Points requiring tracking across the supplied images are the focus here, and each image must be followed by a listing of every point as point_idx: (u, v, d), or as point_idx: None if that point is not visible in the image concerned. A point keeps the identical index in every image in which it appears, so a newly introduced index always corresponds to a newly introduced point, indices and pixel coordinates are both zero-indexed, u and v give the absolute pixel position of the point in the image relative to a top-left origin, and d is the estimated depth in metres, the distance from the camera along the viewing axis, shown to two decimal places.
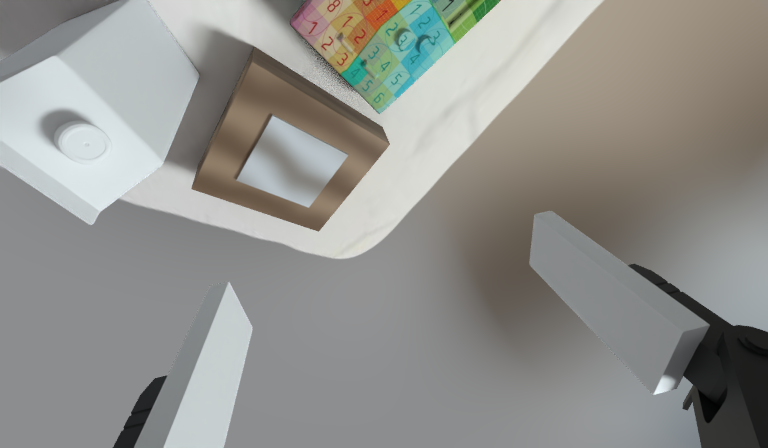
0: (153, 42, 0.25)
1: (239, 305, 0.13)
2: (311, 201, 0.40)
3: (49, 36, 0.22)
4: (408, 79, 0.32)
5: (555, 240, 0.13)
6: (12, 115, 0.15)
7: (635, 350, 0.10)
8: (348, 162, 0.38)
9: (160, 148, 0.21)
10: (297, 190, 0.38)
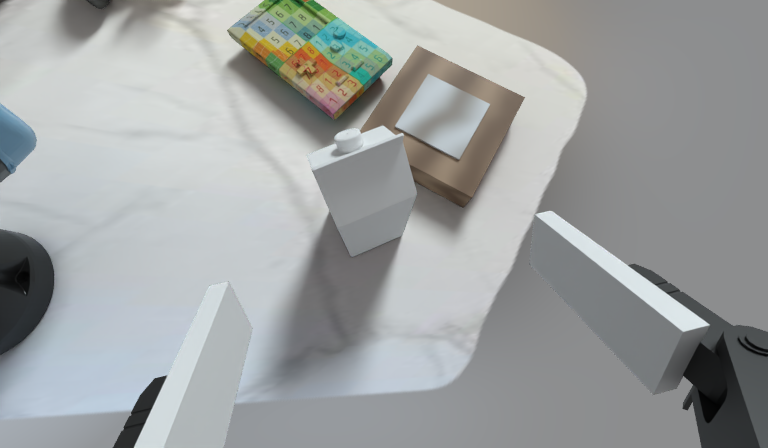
0: None
1: (240, 305, 0.13)
2: (482, 101, 0.41)
3: None
4: (363, 40, 0.44)
5: (555, 240, 0.13)
6: None
7: (635, 350, 0.10)
8: (436, 74, 0.42)
9: None
10: (468, 112, 0.41)
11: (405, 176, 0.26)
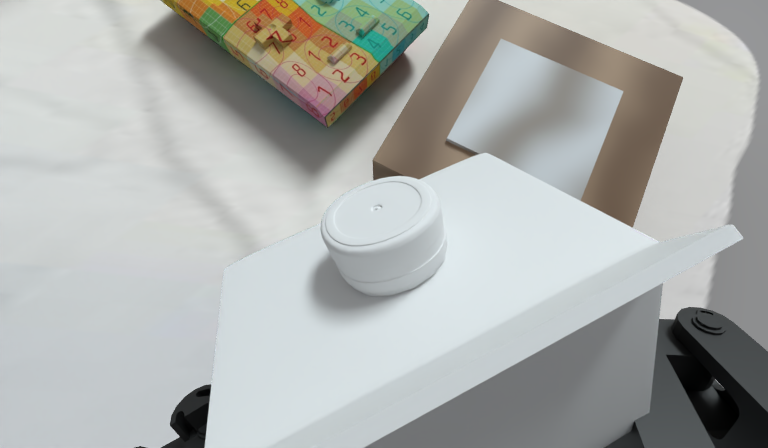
0: None
1: None
2: (607, 87, 0.22)
3: None
4: None
5: None
6: (285, 357, 0.05)
7: None
8: (515, 40, 0.23)
9: None
10: (585, 108, 0.21)
11: (624, 374, 0.06)
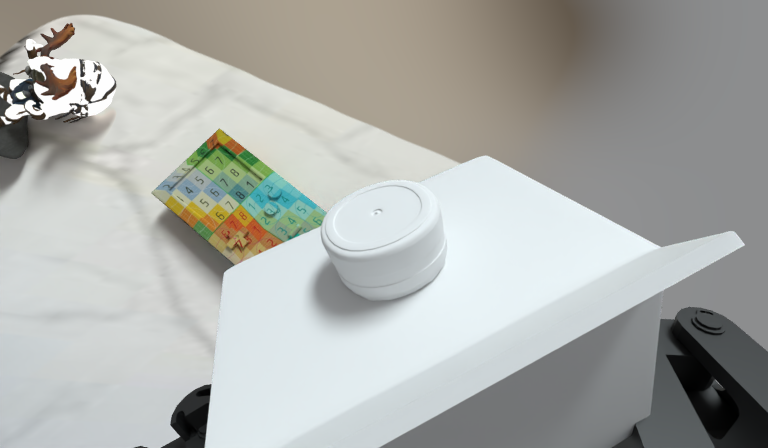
0: None
1: None
2: None
3: None
4: (301, 200, 0.40)
5: None
6: (285, 363, 0.05)
7: None
8: None
9: None
10: None
11: (625, 379, 0.06)
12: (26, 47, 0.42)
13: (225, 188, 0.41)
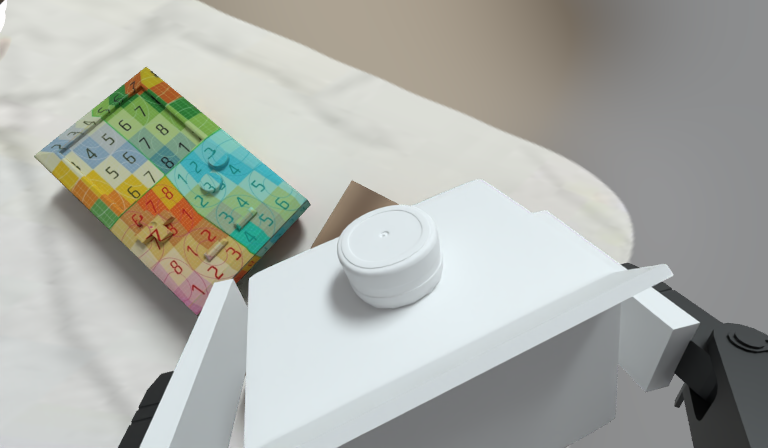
0: None
1: (244, 303, 0.13)
2: None
3: None
4: (258, 171, 0.26)
5: None
6: (307, 358, 0.06)
7: (627, 348, 0.10)
8: None
9: None
10: None
11: (592, 379, 0.07)
12: None
13: (146, 152, 0.27)
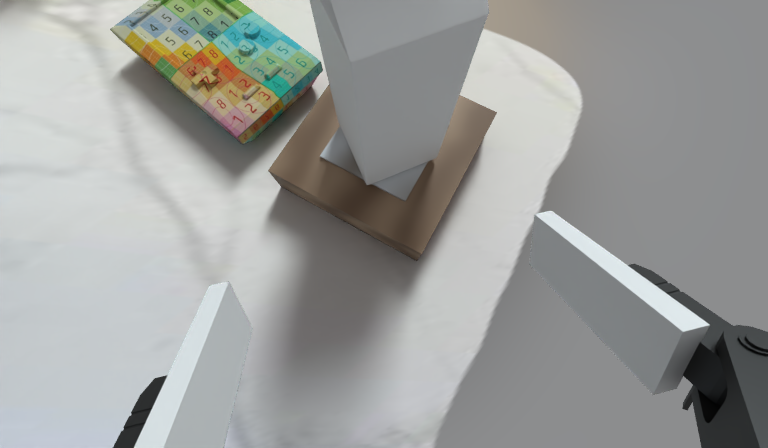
0: None
1: (240, 305, 0.13)
2: None
3: (351, 129, 0.23)
4: (283, 40, 0.34)
5: (555, 239, 0.13)
6: None
7: (635, 350, 0.10)
8: None
9: None
10: None
11: None
12: None
13: (196, 27, 0.34)
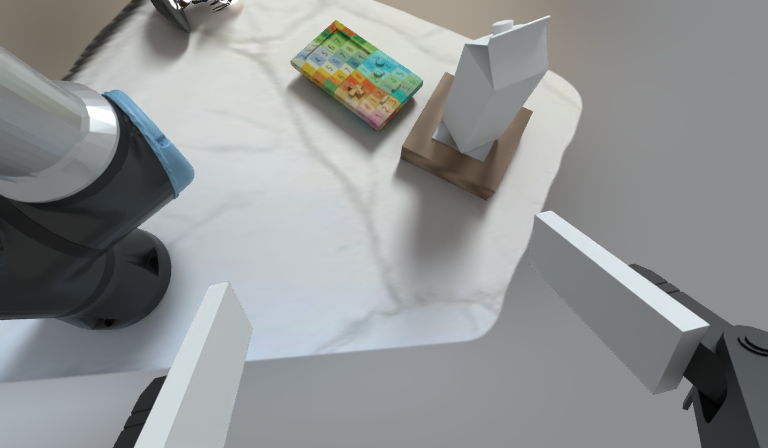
0: None
1: (239, 305, 0.13)
2: None
3: (465, 120, 0.45)
4: (399, 67, 0.55)
5: (555, 239, 0.13)
6: None
7: (635, 350, 0.10)
8: None
9: None
10: None
11: (542, 54, 0.36)
12: None
13: (343, 59, 0.55)
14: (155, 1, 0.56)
